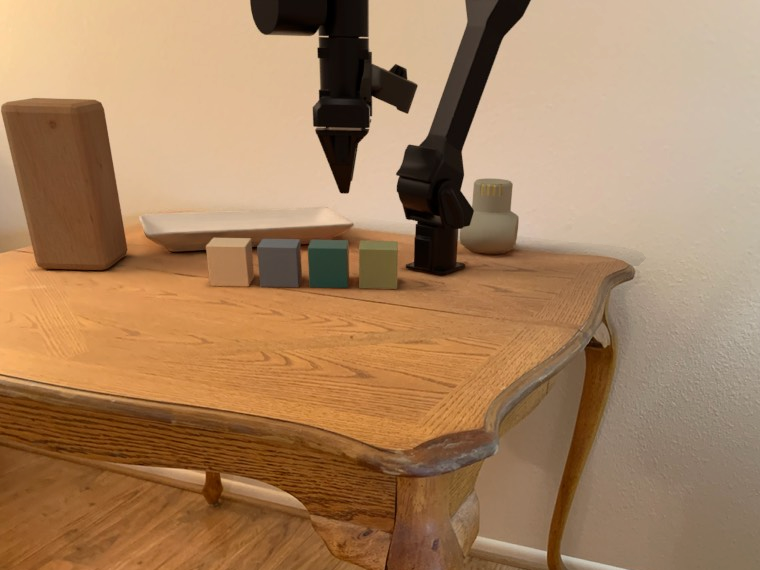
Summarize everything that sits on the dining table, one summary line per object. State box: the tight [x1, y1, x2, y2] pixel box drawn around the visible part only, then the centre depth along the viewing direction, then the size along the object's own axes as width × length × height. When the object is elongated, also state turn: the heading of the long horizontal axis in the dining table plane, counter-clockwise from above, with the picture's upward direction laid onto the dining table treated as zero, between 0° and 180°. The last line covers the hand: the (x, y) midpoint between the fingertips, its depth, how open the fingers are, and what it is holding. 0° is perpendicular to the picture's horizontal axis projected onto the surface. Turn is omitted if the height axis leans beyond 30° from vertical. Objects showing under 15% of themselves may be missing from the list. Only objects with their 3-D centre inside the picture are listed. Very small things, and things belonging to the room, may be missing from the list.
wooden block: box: [0, 97, 128, 271], centre depth 103 cm, size 10×10×20 cm
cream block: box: [205, 238, 255, 287], centre depth 101 cm, size 5×5×5 cm
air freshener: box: [459, 178, 519, 255], centre depth 118 cm, size 11×8×10 cm
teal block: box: [307, 239, 350, 289], centre depth 101 cm, size 5×5×5 cm
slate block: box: [256, 239, 303, 288], centre depth 101 cm, size 5×5×5 cm
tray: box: [138, 206, 355, 253], centre depth 122 cm, size 17×31×4 cm, turn 110°
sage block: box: [358, 240, 399, 290], centre depth 101 cm, size 5×5×5 cm
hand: (346, 187), depth 95 cm, fingers open, 9 cm apart
